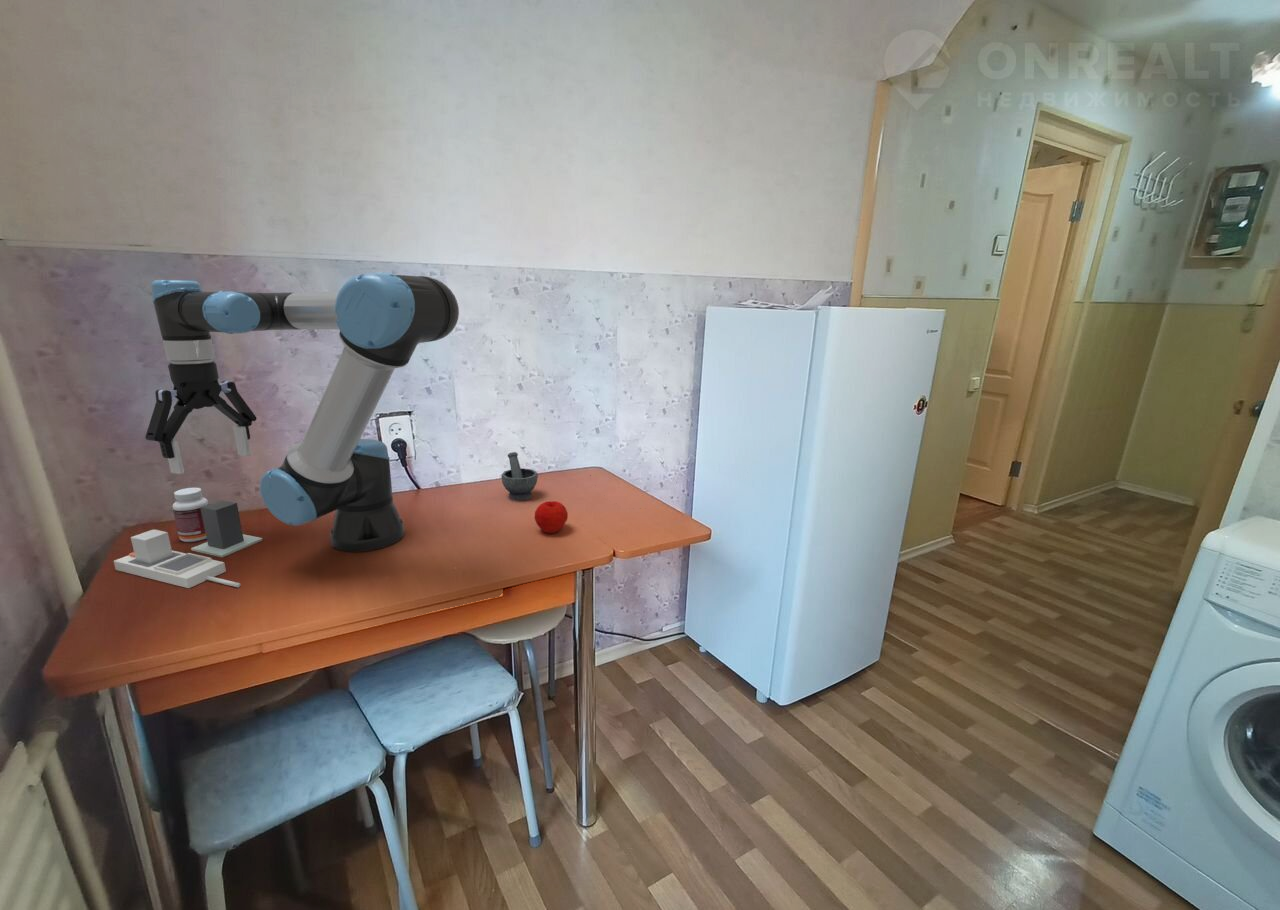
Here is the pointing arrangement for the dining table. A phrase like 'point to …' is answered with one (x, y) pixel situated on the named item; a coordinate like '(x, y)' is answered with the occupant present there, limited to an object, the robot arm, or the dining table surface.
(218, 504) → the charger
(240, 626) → the dining table surface
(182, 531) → the pill bottle
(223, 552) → the coaster
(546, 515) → the apple
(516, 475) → the mortar and pestle
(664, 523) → the dining table surface
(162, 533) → the strip
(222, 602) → the dining table surface
